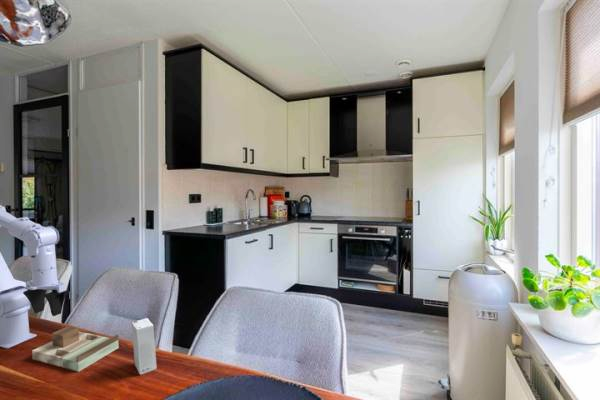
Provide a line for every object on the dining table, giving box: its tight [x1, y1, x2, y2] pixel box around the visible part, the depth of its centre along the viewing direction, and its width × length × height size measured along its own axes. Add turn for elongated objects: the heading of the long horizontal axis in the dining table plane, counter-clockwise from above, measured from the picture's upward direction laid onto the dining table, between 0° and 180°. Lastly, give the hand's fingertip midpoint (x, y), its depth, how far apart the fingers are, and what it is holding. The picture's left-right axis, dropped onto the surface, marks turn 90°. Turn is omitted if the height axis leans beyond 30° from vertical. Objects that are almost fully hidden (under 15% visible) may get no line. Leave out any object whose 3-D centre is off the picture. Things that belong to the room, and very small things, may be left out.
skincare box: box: [131, 317, 157, 375], centre depth 83 cm, size 6×4×12 cm
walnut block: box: [51, 326, 80, 348], centre depth 91 cm, size 4×4×4 cm
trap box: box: [31, 331, 120, 372], centre depth 90 cm, size 18×12×4 cm, turn 71°
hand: (47, 313), depth 93 cm, fingers open, 7 cm apart
